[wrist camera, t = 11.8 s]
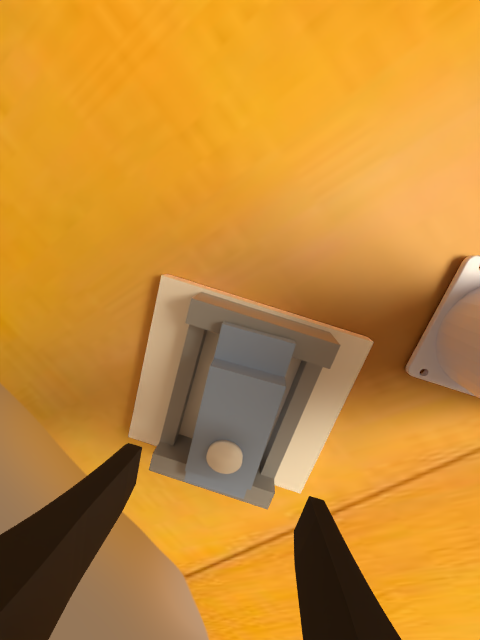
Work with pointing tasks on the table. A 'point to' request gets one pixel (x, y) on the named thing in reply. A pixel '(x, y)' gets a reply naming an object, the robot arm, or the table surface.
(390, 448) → the table surface
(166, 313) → the cradle
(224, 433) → the servo
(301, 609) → the robot arm
